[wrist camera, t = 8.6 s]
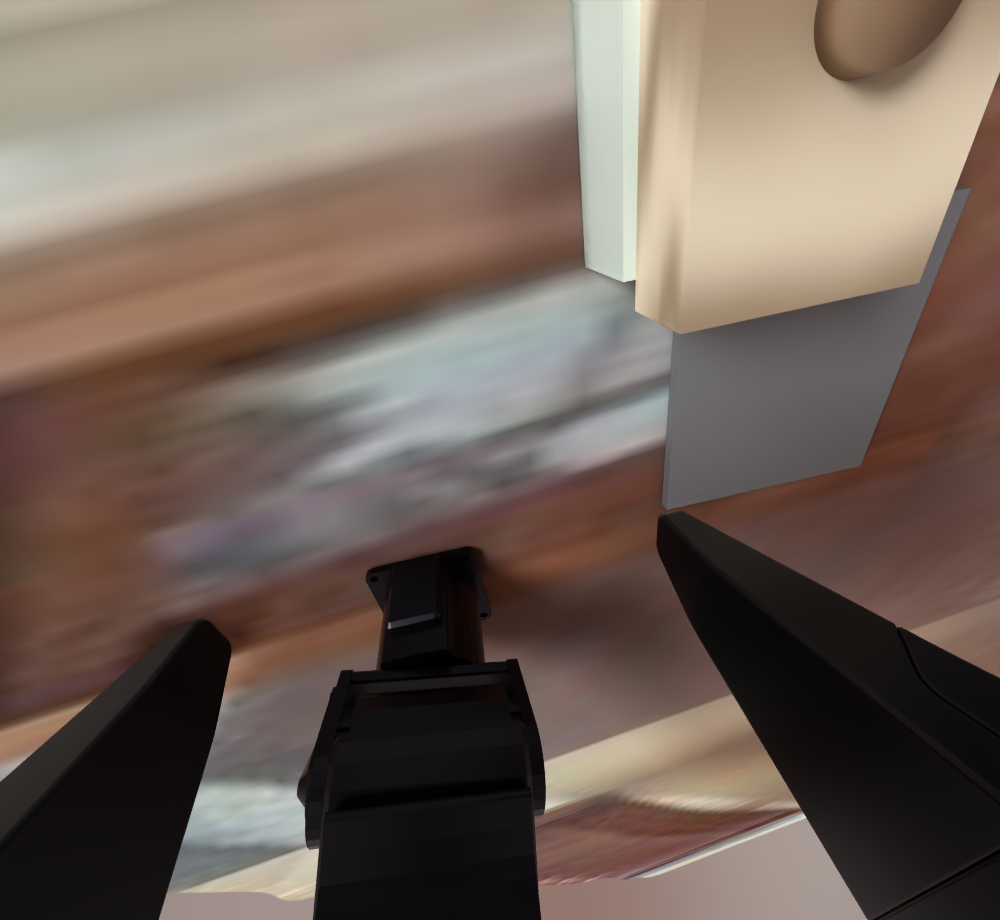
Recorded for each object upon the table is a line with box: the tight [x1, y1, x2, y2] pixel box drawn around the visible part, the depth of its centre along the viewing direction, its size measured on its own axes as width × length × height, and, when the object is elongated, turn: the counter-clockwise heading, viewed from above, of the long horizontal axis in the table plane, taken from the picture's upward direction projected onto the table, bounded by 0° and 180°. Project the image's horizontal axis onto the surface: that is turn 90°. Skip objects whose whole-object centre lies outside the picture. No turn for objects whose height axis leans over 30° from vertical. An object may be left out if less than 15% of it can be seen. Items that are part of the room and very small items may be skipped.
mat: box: [662, 188, 971, 510], centre depth 20 cm, size 14×12×1 cm
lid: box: [635, 0, 1000, 334], centre depth 9 cm, size 12×7×4 cm, turn 10°
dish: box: [572, 0, 640, 282], centre depth 12 cm, size 10×8×4 cm
